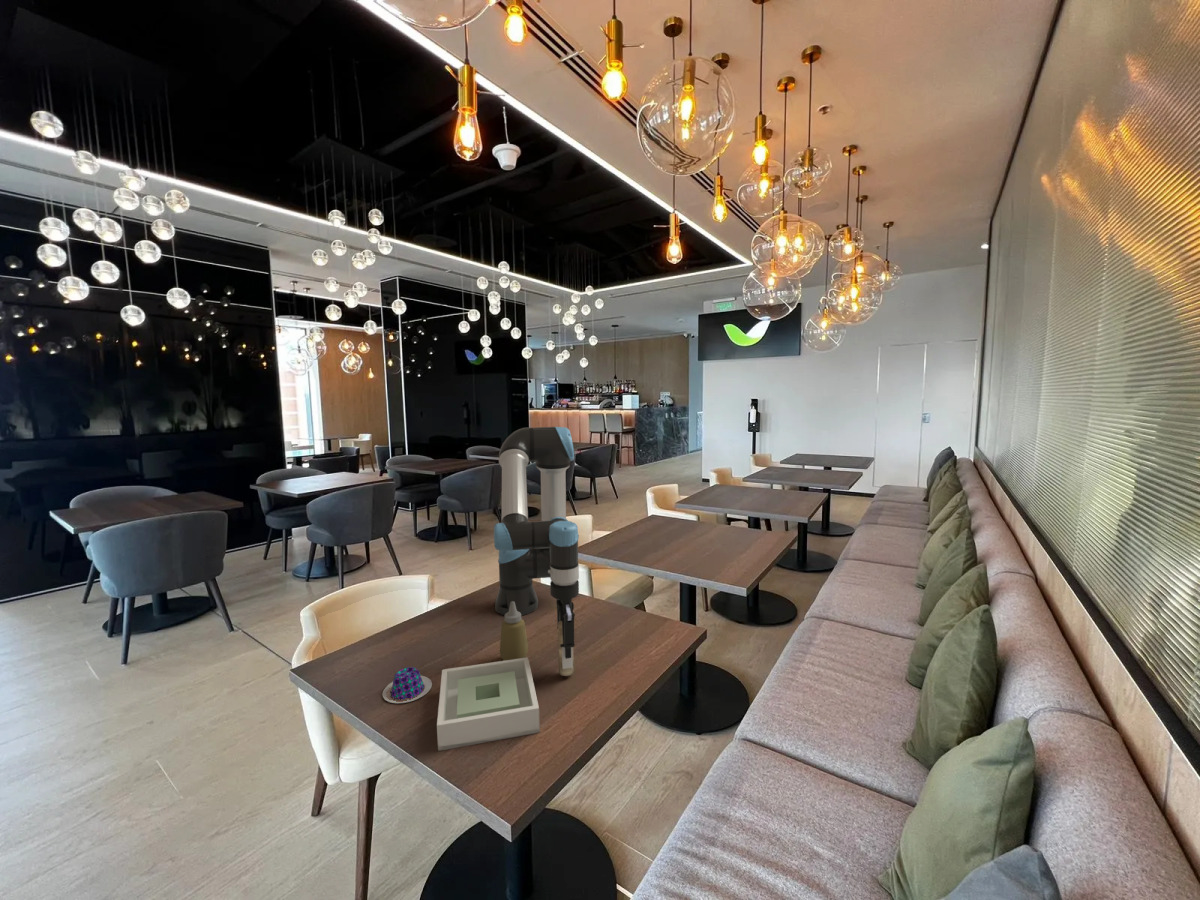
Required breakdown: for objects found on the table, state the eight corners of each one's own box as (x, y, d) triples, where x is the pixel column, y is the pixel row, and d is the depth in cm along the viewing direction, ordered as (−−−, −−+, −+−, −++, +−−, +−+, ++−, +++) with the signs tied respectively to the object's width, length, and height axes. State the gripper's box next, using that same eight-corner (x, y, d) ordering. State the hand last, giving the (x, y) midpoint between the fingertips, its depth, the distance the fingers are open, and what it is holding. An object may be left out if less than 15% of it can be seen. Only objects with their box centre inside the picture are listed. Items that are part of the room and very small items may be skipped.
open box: (443, 691, 128) (442, 669, 127) (528, 678, 133) (527, 657, 133) (438, 751, 107) (436, 725, 106) (539, 732, 112) (539, 708, 112)
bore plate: (458, 694, 125) (458, 679, 124) (514, 685, 128) (514, 671, 128) (457, 731, 112) (456, 714, 111) (520, 720, 115) (519, 704, 115)
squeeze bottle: (522, 671, 137) (520, 609, 134) (495, 668, 138) (493, 607, 136) (532, 656, 144) (530, 597, 142) (506, 653, 146) (504, 595, 144)
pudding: (413, 673, 137) (412, 655, 136) (441, 687, 130) (440, 668, 130) (372, 695, 127) (371, 676, 126) (401, 712, 120) (400, 692, 120)
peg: (557, 668, 136) (556, 620, 134) (571, 666, 137) (571, 618, 135) (560, 676, 132) (559, 627, 130) (574, 674, 133) (574, 625, 131)
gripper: (545, 570, 138) (547, 648, 141) (555, 595, 122) (557, 683, 125) (572, 567, 140) (573, 644, 143) (585, 591, 123) (586, 678, 127)
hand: (565, 662), depth 134 cm, fingers closed on peg, 4 cm apart
